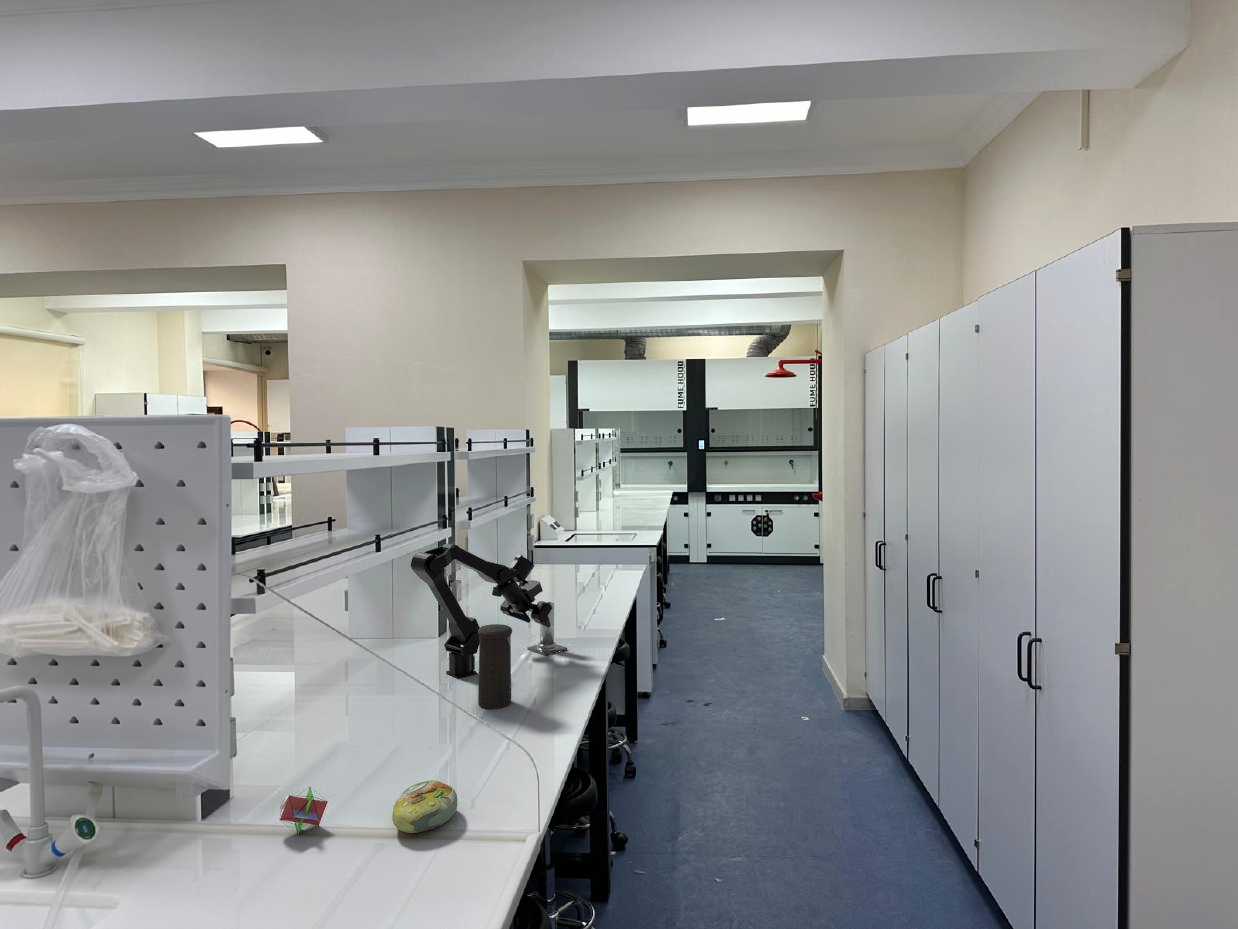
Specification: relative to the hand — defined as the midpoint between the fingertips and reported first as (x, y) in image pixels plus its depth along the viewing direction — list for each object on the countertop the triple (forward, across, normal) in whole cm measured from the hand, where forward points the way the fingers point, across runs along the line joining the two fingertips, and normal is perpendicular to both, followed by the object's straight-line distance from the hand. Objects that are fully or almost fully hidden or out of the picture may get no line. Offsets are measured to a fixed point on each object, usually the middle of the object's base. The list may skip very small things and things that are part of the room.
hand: (539, 624), depth 244 cm
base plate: (+9, 0, +4) cm, 10 cm away
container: (-21, -26, +35) cm, 48 cm away
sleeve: (+8, 0, +3) cm, 9 cm away
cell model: (-53, -63, +68) cm, 107 cm away
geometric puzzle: (-64, -51, +80) cm, 114 cm away
